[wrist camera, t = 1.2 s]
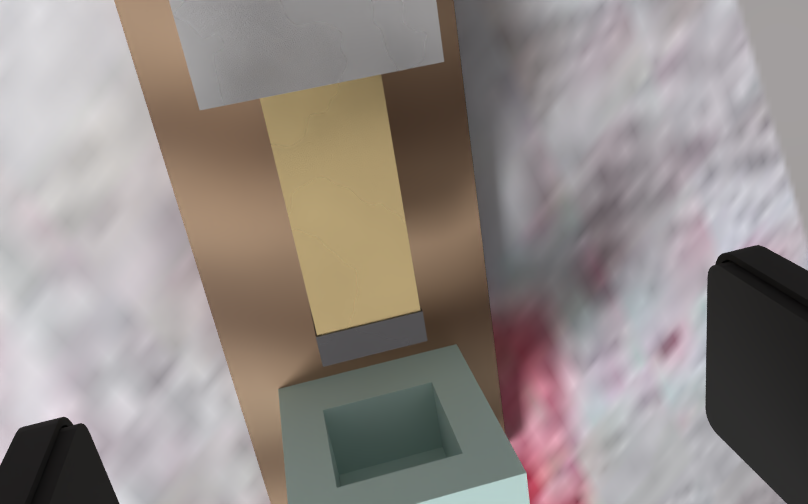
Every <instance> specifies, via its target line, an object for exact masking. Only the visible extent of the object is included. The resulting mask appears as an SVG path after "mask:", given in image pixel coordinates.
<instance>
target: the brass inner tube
mask: <svg viewBox="0 0 808 504" xmlns="http://www.w3.org/2000/svg"><path fill="white" fill-rule="evenodd" d="M260 102H261V106H262V110H263V114H264V118H265V122H266V126H267V131H268V135H269V139H270V143H271V147H272V151H273V155H274V159H275V164H276V168H277V172H278V176H279V180H280V184H281V188H282V192H283V197H284V201H285V205H286V209H287V213H288V217H289V221H290V225H291V230H292V234H293V238H294V242H295V246H296V250H297V254H298V258H299V263H300V267H301V271H302V275H303V279H304V283H305V287H306V291H307V296H308V300H309V305H310V310H311V315H312V320H313V326H314V331H315V336H316V340H317V345H318V349H319V353H320V357H321V361H322V365H323V367H325V366H329V365H333V364H337V363H341V362H345V361H349V360H353V359H357V358H361V357H365V356H369V355H373V354H377V353H381V352H385V351H389V350H393V349H397V348H401V347H405V346H409V345H413V344H417V343H421V342H425V341H427V334H426V328H425V322H424V316H423V311H422V309H421V307H420V305H419V299H418V293H417V287H416V281H415V275H414V269H413V263H412V257H411V251H410V245H409V239H408V233H407V227H406V221H405V215H404V209H403V203H402V197H401V191H400V185H399V179H398V173H397V167H396V161H395V155H394V149H393V143H392V137H391V131H390V125H389V119H388V113H387V107H386V101H385V95H384V89H383V83H382V77H381V74H380V75H375V76H370V77H365V78H360V79H355V80H350V81H345V82H340V83H335V84H330V85H325V86H320V87H315V88H310V89H305V90H300V91H295V92H290V93H285V94H280V95H275V96H270V97H265V98H260Z"/></svg>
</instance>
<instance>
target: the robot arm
mask: <svg viewBox="0 0 808 504" xmlns="http://www.w3.org/2000/svg"><path fill="white" fill-rule="evenodd" d="M706 414H707V418H708V421H709V423H710V425H711V427H712V428H713V430H714V431H715V432H716V433H717V434H718V435H719V436H720V437H721V438H722V439H723V440H724V441H725V442H726V443H727V444H728V445H729V446H730V447H731V448H732V449H733V450H734V451H735V452H736V453H737V454H738V455H739V456H740V457H741V458H742V459H743V460H744V461H745V462H746V463H747V464H748V465H749V466H750V467H751V468H752V469H753V470H754V471H755V472H756V473H757V474H758V475H759V476H760V477H761V478H762V479H763V480H764V481H765V482H766V483H767V484H768V485H769V486H770V487H771V488H772V489H773V490H774V491H775V492H776V493H777V494H778V495H779V496H780V497H781V498H782V499H783V500H784V501H785V502H786V503H787V504H808V271H807V270H806V269H804V268H802V267H800V266H798V265H796V264H795V263H793V262H791V261H789V260H787V259H785V258H783V257H782V256H780V255H778V254H776V253H774V252H772V251H771V250H769V249H767V248H765V247H763V246H760V245H756V246H751V247H747V248H743V249H739V250H735V251H731V252H727V253H723V254H721V255H720V256H719V257H718V259H717V261H716V265H713V266H712V267H711V268H710V269H709V271H708V285H707V349H706ZM0 504H119V502H118V499H117V497H116V494H115V492H114V490H113V487H112V485H111V483H110V480H109V478H108V475H107V473H106V471H105V468H104V466H103V463H102V461H101V459H100V456H99V454H98V452H97V449H96V447H95V444H94V442H93V440H92V437H91V435H90V433H89V431H88V429H87V427H86V426H85V425H84V424H82V423H80V424H76V425H73V424H72V422H71V421H70V420H69V419H68V418H66V417H61V418H57V419H53V420H49V421H45V422H41V423H37V424H33V425H29V426H25V427H22V428H19V430H18V431H17V432H16V434H15V436H14V438H13V440H12V442H11V444H10V446H9V449H8V451H7V453H6V455H5V457H4V459H3V461H2V463H1V465H0Z"/></svg>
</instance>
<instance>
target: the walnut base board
mask: <svg viewBox="0 0 808 504" xmlns="http://www.w3.org/2000/svg"><path fill="white" fill-rule="evenodd" d="M114 1H115V4H116V8H117V11H118V14H119V17H120V21H121V24H122V27H123V30H124V33H125V37H126V40H127V43H128V46H129V49H130V53H131V56H132V59H133V62H134V65H135V69H136V72H137V75H138V78H139V82H140V85H141V88H142V91H143V94H144V98H145V101H146V104H147V107H148V110H149V114H150V117H151V120H152V123H153V126H154V130H155V133H156V136H157V139H158V143H159V146H160V149H161V152H162V155H163V159H164V162H165V165H166V168H167V171H168V175H169V178H170V181H171V184H172V187H173V191H174V194H175V197H176V200H177V203H178V207H179V210H180V213H181V216H182V220H183V223H184V226H185V229H186V232H187V236H188V239H189V242H190V245H191V248H192V252H193V255H194V258H195V261H196V264H197V268H198V271H199V274H200V277H201V281H202V284H203V287H204V290H205V293H206V297H207V300H208V303H209V306H210V309H211V313H212V316H213V319H214V322H215V325H216V329H217V332H218V335H219V338H220V342H221V345H222V348H223V351H224V354H225V358H226V361H227V364H228V367H229V370H230V374H231V377H232V380H233V383H234V386H235V390H236V393H237V396H238V399H239V403H240V406H241V409H242V412H243V415H244V419H245V422H246V425H247V428H248V431H249V435H250V438H251V441H252V444H253V447H254V451H255V454H256V457H257V460H258V464H259V467H260V470H261V473H262V476H263V480H264V483H265V486H266V489H267V492H268V496H269V499H270V502H271V504H288V500H287V488H286V476H285V464H284V452H283V441H282V429H281V417H280V405H279V393H278V389H280V388H284V387H288V386H292V385H296V384H300V383H304V382H308V381H312V380H316V379H320V378H324V377H328V376H332V375H336V374H340V373H344V372H348V371H352V370H356V369H360V368H364V367H367V366H371V365H375V364H379V363H383V362H387V361H391V360H395V359H399V358H403V357H407V356H411V355H415V354H419V353H423V352H427V351H431V350H435V349H439V348H443V347H447V346H451V345H455V344H457V346H458V348H459V350H460V351H461V353H462V355H463V357H464V359H465V361H466V362H467V364H468V366H469V368H470V370H471V372H472V374H473V375H474V377H475V379H476V381H477V383H478V385H479V386H480V388H481V390H482V392H483V394H484V396H485V398H486V399H487V401H488V403H489V405H490V407H491V409H492V410H493V412H494V414H495V416H496V418H497V420H498V422H499V423H500V425H501V427H502V429H503V431H504V433H505V429H504V421H503V412H502V404H501V395H500V387H499V379H498V370H497V362H496V353H495V345H494V337H493V328H492V320H491V311H490V303H489V295H488V286H487V278H486V269H485V261H484V253H483V244H482V236H481V227H480V219H479V211H478V202H477V194H476V185H475V177H474V169H473V160H472V152H471V143H470V135H469V127H468V118H467V110H466V101H465V93H464V85H463V76H462V68H461V59H460V51H459V43H458V34H457V26H456V18H455V9H454V1H453V0H436V2H437V10H438V18H439V26H440V33H441V41H442V49H443V57H444V62H441V63H436V64H431V65H426V66H421V67H416V68H411V69H406V70H401V71H395V72H390V73H385V74H381V77H382V83H383V89H384V95H385V101H386V107H387V113H388V119H389V125H390V131H391V137H392V143H393V149H394V155H395V161H396V167H397V173H398V179H399V185H400V191H401V197H402V203H403V209H404V215H405V221H406V227H407V233H408V239H409V245H410V251H411V257H412V263H413V269H414V275H415V281H416V287H417V293H418V299H419V305H420V307H421V309H422V311H423V316H424V322H425V328H426V334H427V341H425V342H421V343H417V344H413V345H409V346H405V347H401V348H397V349H393V350H389V351H385V352H381V353H377V354H373V355H369V356H365V357H361V358H357V359H353V360H349V361H345V362H341V363H337V364H333V365H329V366H325V367H323V365H322V361H321V357H320V353H319V349H318V345H317V340H316V336H315V331H314V326H313V320H312V315H311V310H310V305H309V300H308V296H307V291H306V287H305V283H304V279H303V275H302V271H301V267H300V263H299V258H298V254H297V250H296V246H295V242H294V238H293V234H292V230H291V225H290V221H289V217H288V213H287V209H286V205H285V201H284V197H283V192H282V188H281V184H280V180H279V176H278V172H277V168H276V164H275V159H274V155H273V151H272V147H271V143H270V139H269V135H268V131H267V126H266V122H265V118H264V114H263V110H262V106H261V102H260V99H255V100H250V101H245V102H240V103H235V104H230V105H225V106H220V107H215V108H210V109H205V110H200V109H199V106H198V102H197V99H196V95H195V92H194V88H193V85H192V81H191V77H190V74H189V70H188V67H187V63H186V60H185V56H184V52H183V49H182V45H181V42H180V38H179V35H178V31H177V27H176V24H175V20H174V17H173V13H172V10H171V6H170V3H169V0H114Z"/></svg>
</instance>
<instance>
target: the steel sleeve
mask: <svg viewBox="0 0 808 504" xmlns="http://www.w3.org/2000/svg"><path fill="white" fill-rule="evenodd" d="M169 3H170V6H171V10H172V13H173V17H174V20H175V24H176V27H177V31H178V35H179V38H180V42H181V45H182V49H183V52H184V56H185V60H186V63H187V67H188V70H189V74H190V77H191V81H192V85H193V88H194V92H195V95H196V99H197V102H198V106H199V109H200V110H205V109H210V108H215V107H220V106H225V105H230V104H235V103H240V102H245V101H250V100H255V99H260V98H265V97H270V96H275V95H280V94H285V93H290V92H295V91H300V90H305V89H310V88H315V87H320V86H325V85H330V84H335V83H340V82H345V81H350V80H355V79H360V78H365V77H370V76H375V75H380V74H385V73H390V72H395V71H401V70H406V69H411V68H416V67H421V66H426V65H431V64H436V63H441V62H444V57H443V49H442V41H441V33H440V26H439V18H438V10H437V2H436V0H169Z"/></svg>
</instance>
